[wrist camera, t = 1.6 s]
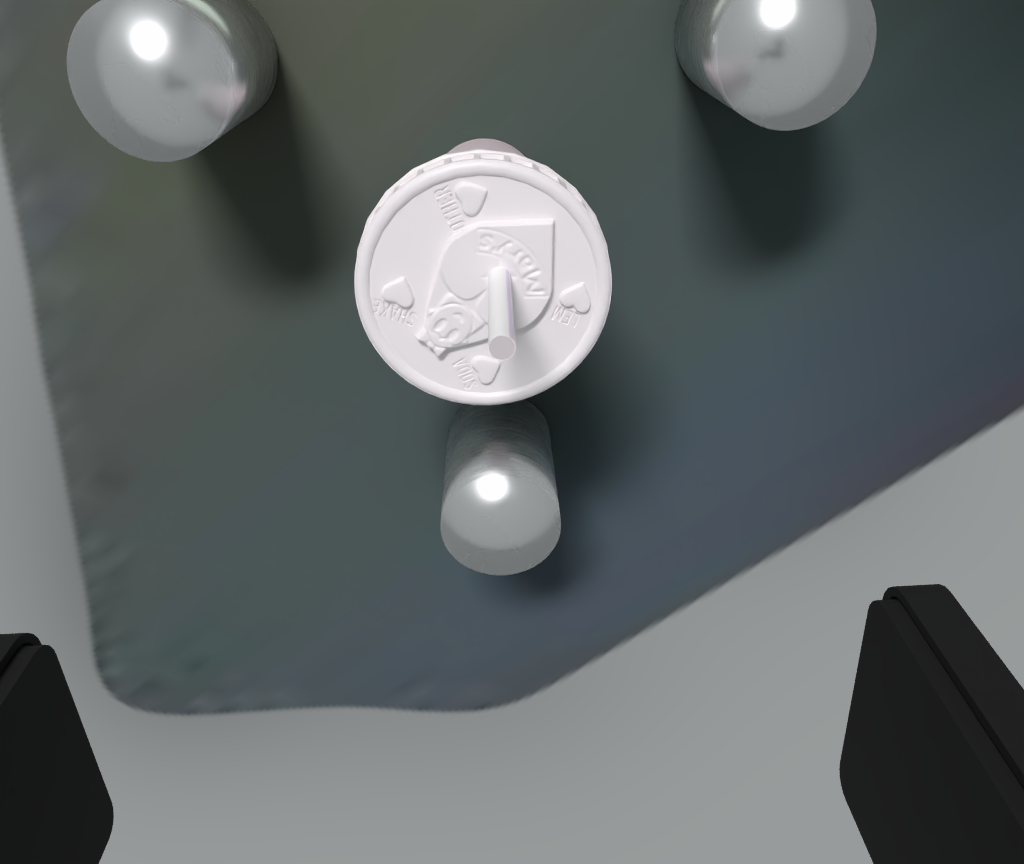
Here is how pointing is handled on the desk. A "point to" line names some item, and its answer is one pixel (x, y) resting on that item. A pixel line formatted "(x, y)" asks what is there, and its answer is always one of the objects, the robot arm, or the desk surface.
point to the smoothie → (483, 276)
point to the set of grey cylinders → (251, 79)
